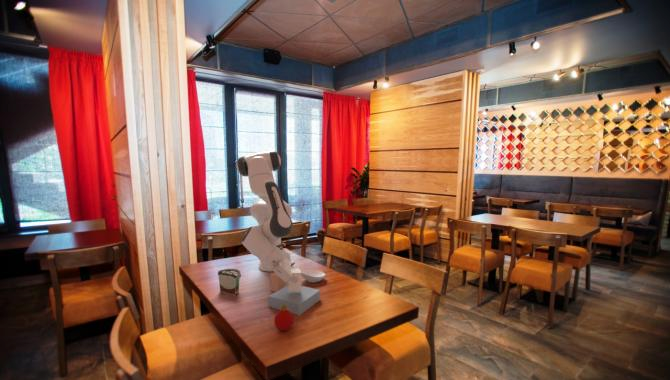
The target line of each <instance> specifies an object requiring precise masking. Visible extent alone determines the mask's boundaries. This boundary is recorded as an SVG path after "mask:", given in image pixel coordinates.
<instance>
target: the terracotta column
mask: <svg viewBox="0 0 670 380" xmlns="http://www.w3.org/2000/svg"><path fill="white" fill-rule="evenodd" d="M269 279H270V287H269V288H270V292H273V293H275V292H277V291H278V290H280V289H282V288H284V287H285V282H284V281H283V280H282V279H281V278H280V277H279V276H278V275H277V274H276V273H275V272H273V273H270V278H269Z"/></svg>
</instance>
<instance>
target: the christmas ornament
mask: <svg viewBox="0 0 670 380" xmlns="http://www.w3.org/2000/svg"><path fill="white" fill-rule="evenodd" d="M294 318H295V317H294V314H292V313H291V312H290V311H288V310H287V306H285V305H284V303H283V306H281V310H278V312H277V313H276V314H275V316H274V320H273V323H274V324H273V325H274V326H275V328H276V329H278V330H279V331H281V332H285V331H288V330H290V329H291V328H292V326H293V324H294V322H295V321H294Z"/></svg>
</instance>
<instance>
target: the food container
mask: <svg viewBox="0 0 670 380" xmlns="http://www.w3.org/2000/svg"><path fill="white" fill-rule="evenodd" d="M217 276H218V284H219V292H220V293H223V294H227V295H232V296H237V295H238V294H239V292H240V291H239V290H240V280H241V279H240V278H241V277H242V274H241V271H240V270H239V269H238V268H224V269H220V270H218V271H217Z"/></svg>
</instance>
